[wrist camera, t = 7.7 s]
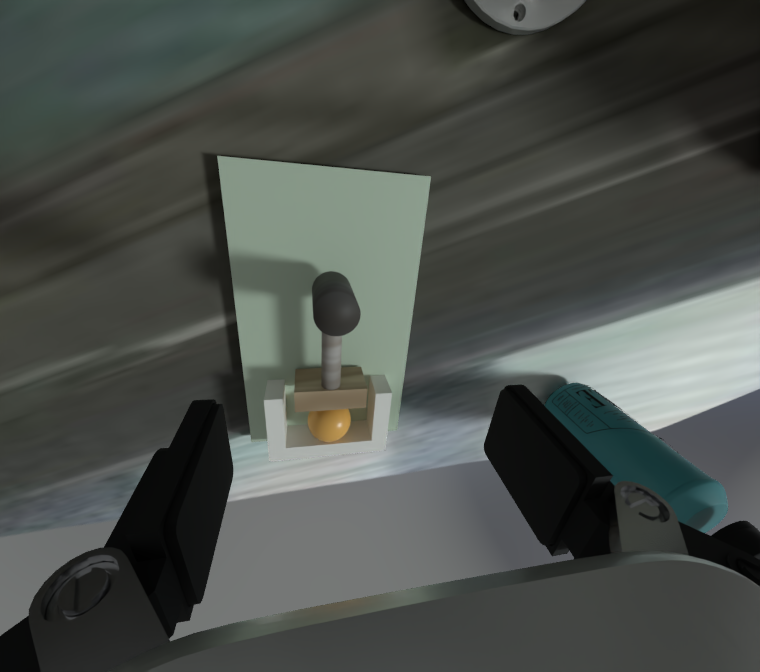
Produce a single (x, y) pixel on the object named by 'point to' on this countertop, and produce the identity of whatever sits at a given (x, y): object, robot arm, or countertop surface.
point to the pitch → (320, 270)
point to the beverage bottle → (648, 463)
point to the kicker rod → (331, 350)
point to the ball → (329, 424)
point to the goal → (304, 445)
